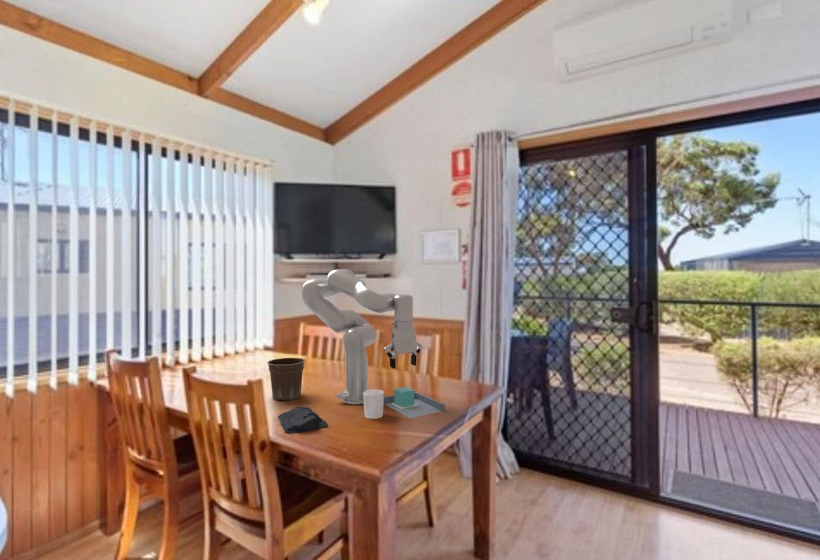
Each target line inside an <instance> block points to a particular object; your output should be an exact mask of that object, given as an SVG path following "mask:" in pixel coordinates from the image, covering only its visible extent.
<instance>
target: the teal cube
mask: <svg viewBox="0 0 820 560" xmlns="http://www.w3.org/2000/svg"><path fill="white" fill-rule="evenodd" d="M393 390H394V391H393V395H394V404H396V405H398V406H400V407H407V406H412V405H414V391H415V390H414V389H412V388H411V387H408V386H406V387H405V386H404V387H398V388H394V389H393Z"/></svg>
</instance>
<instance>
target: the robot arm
mask: <svg viewBox="0 0 820 560" xmlns="http://www.w3.org/2000/svg"><path fill="white" fill-rule="evenodd" d="M366 286H367V284H366V282H365V281H364V280H363V279H362V278H359V277H356V275H355V272H353V271H352V270H351V269H345V268H342V269H333V270H331V271H330V272H329V273H328V275H327V277H326V278H313V279H310V280H307V281H306V282H305V283H303V286H302V288H301V297H302V302H303V303H304V305H305V306H306V307H307V308H308V310H309V311H311V312H312V313H313V314H314V315H316V317H318V318H319V319H320V320H321V321H322V322H323V323H324V324H325V325H326V326H327V327H328V328H329V329H330V330H332V331H333V332H334V333H336V334H342V333H344V334H343V337H342V344H343V349H344V359H345V389H343V392H341V393H335V395H334V399H336V400H337V399H340V400H342V402H343V403H344V404H347V405H364V400H363V392H364V391H367V390H369V364H368V363H369V362H368V360H369V358H368V353H367V350H366V347H370V346H371V345H373V344H374V343H376V340H377V332H376V329H375V328H374V327H373V325H372V324H371V323H369V322H368V321H367V320H366V319H365V318H364V317H363V316H361V314H359V313H358V312H357V311H354V310H352V309H345V310H344V309H343V310H341V309H339V308H338V307H337V306H336V305H335V304H333V303H332V302H331V301H330V300H327V299H326V298H328V297H332V296H335V295H336V294H340V293H343V294H345V295H347V296H349V297H351V298H353V299H354V300H355V301H356V303H358V304H359V305H360V306H362V307H364V308H365V309H368V310H370V311H372V312H374V313H378V314H382V313H389V312H394V315H393V317H394V318H393V322H391V327H393V328H392V331H391V338H390V343H388V345H386V346H384V347H383V350H384V352H385V354H386V356H387V357H388V358H389V366H390V368H391V369H396V356H397V355H402V354H403V355H404V354H410V365H411V366H417V362H418V361H417V357H418V355H419V353H420V352H421V349H422V347H423V344H421V343H420V342H418V341H417V334H416V329H415V327H414V323H413V322H414V321H413V320H414V314H413V313H414V311H413V310H414V309H413V308H414V305H413V304H414V298H413V296H412V295H411V294H405V293H404V294H396V293H389V292H388V293H387V292H386V293H380V294H379V293H377V292H376V291H373V290H371V289H369V288H368V287H366Z"/></svg>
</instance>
